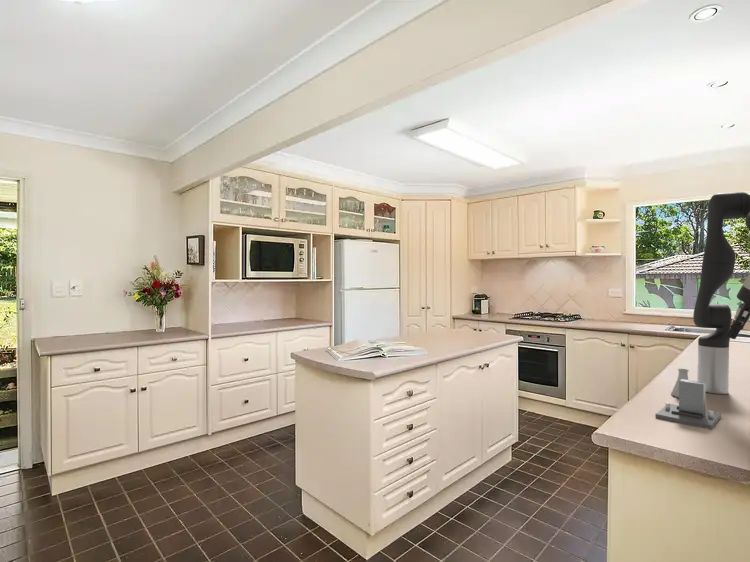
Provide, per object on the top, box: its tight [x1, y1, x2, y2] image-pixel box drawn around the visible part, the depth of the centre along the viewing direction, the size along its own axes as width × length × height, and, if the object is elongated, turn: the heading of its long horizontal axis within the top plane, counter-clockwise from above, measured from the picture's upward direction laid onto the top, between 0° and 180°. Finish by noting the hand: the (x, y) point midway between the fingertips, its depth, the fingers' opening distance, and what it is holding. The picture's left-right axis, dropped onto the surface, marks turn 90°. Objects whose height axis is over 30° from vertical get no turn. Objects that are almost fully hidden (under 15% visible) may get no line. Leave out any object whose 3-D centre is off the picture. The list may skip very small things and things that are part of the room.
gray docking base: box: [655, 402, 722, 430], centre depth 131 cm, size 14×16×3 cm
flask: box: [670, 367, 690, 398], centre depth 154 cm, size 7×7×10 cm
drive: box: [678, 379, 707, 418], centre depth 130 cm, size 6×4×10 cm, turn 44°
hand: (732, 333), depth 135 cm, fingers open, 8 cm apart
